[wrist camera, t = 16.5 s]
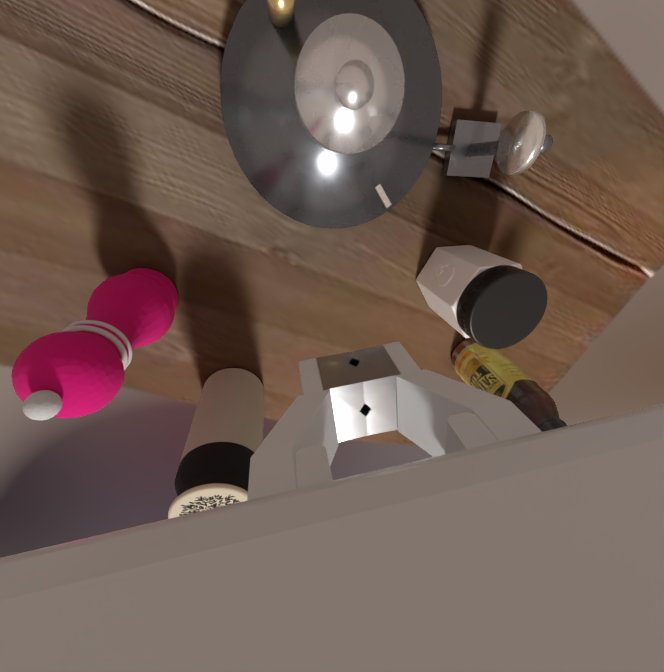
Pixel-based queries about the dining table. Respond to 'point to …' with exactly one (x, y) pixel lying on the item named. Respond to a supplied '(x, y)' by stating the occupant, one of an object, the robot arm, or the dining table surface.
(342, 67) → the cover
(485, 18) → the dining table surface
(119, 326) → the pepper mill
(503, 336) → the jar
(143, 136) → the dining table surface
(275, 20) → the turntable
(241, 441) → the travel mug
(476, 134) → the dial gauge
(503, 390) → the sauce bottle
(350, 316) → the dining table surface
